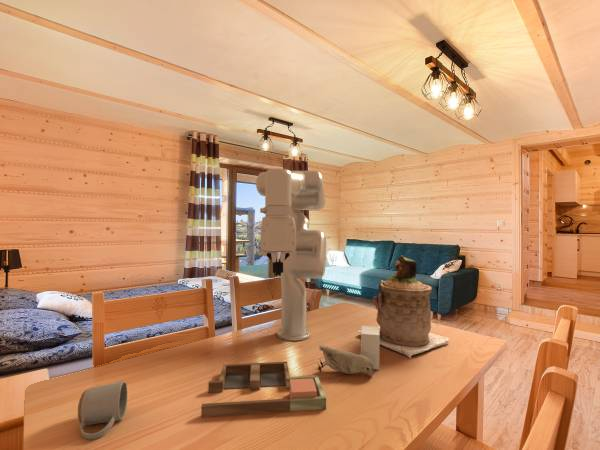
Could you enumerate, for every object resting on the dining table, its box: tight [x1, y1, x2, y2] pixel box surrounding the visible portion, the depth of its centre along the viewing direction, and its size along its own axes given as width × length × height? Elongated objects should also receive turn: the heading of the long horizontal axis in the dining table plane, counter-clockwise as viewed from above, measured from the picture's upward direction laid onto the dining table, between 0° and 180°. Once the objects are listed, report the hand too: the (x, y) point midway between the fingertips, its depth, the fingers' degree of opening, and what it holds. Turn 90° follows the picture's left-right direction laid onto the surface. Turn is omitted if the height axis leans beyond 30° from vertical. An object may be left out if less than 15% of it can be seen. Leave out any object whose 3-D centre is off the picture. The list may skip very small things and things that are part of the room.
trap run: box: [200, 361, 327, 418], centre depth 82 cm, size 20×28×2 cm
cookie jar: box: [357, 255, 450, 359], centre depth 117 cm, size 25×25×32 cm
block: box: [289, 378, 318, 398], centre depth 77 cm, size 6×6×4 cm
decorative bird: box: [317, 344, 374, 378], centre depth 91 cm, size 5×16×8 cm, turn 74°
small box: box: [360, 325, 381, 371], centre depth 97 cm, size 8×6×10 cm
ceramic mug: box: [77, 380, 128, 441], centre depth 67 cm, size 11×8×8 cm
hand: (277, 275), depth 91 cm, fingers closed
